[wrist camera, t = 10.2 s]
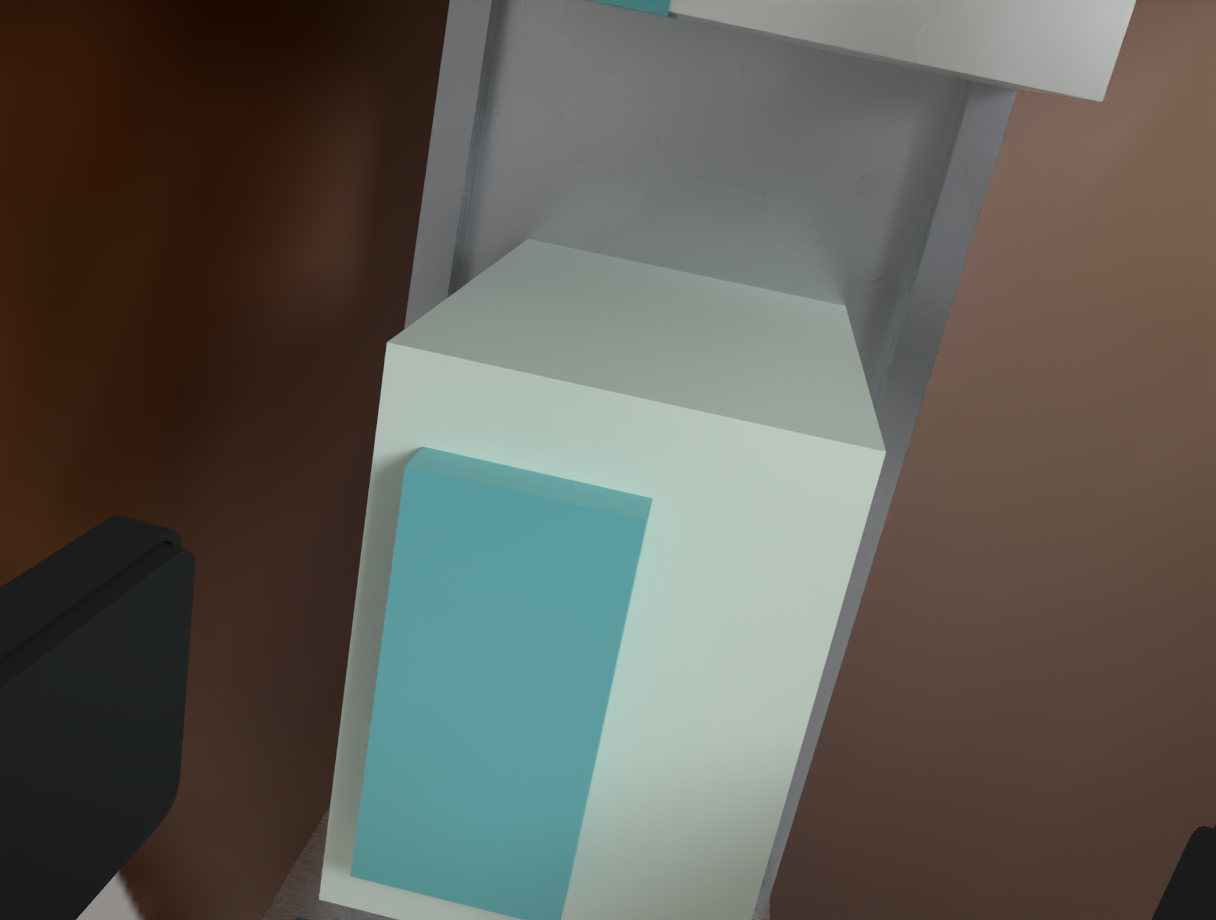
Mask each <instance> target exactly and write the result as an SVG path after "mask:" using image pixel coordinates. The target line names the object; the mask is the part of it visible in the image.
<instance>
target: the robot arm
mask: <svg viewBox="0 0 1216 920" xmlns="http://www.w3.org/2000/svg"><path fill="white" fill-rule="evenodd" d="M194 572H195V560H194V556H193V553H192V552H191V551H190V550H187V549H183V548H182V545H181V541H180V537H179V535H178V534H177V533H176V532H175V531H174V530H171V529H168V528H164V527H160V526H156V525H153V524H149V523H145V522H142V521H138V520H134V519H131V518H127V517H123V516H117V515H116V516H113V517H111V518H108V519H107V520H105V521H104V522H102V523H101V524H99V525H97V526H96V527H94V528H93V529H91V530H90V531H88V532H86V533H85V534H83V535H82V536H80V537H79V538H77V539H76V540H74V541H72V542H71V543H69V544H68V545H66V546H65V547H63V548H61V549H60V550H58V551H57V552H55V553H54V554H52V555H51V556H49V557H47V558H46V559H44V560H43V561H41V562H40V563H38V564H37V565H35V566H33V567H32V568H30V569H29V570H27V571H26V572H24V573H22V574H21V575H19V576H18V577H16V578H15V579H13V580H12V581H10V582H8V583H7V584H5V585H4V586H2V587H1V588H0V920H76V919H77V918H78V916H79V915H80V914H81V913H82V912H83V911H84V910H85V909H86V907H87V906H88V905H89V904H90V903H91V902H92V901H93V899H94V898H95V897H96V896H97V895H98V894H99V893H100V891H101V890H102V889H103V888H104V887H105V886H106V885H107V883H108V882H109V881H110V880H111V879H112V878H113V877H114V876H115V874H116V873H117V872H118V871H119V870H120V869H121V868H122V866H123V865H124V864H125V863H126V862H127V861H128V860H129V859H130V857H131V856H132V855H133V854H134V853H135V852H136V851H137V849H138V848H139V847H140V846H141V845H142V844H143V843H144V841H145V840H146V839H147V838H148V837H149V836H150V835H151V833H152V832H153V831H154V830H155V829H156V828H157V827H158V825H159V824H160V823H161V822H162V821H163V819H164V818H165V817H166V815H167V814H168V812H169V810H170V808H171V806H172V804H173V802H174V799H175V797H176V794H177V790H178V786H179V780H180V767H181V753H182V739H183V725H184V712H185V698H186V684H187V670H188V656H189V642H190V628H191V614H192V600H193V586H194ZM1152 920H1216V826H1215V828H1210V827H1207V826H1202V827H1199V828H1198V829H1197V830H1195V831H1194V832H1193V834H1192V836H1191V837H1190V839H1189V841H1188V843H1187V845H1186V847H1185V850H1184V852H1183V854H1182V856H1181V858H1180V860H1179V862H1178V864H1177V867H1176V869H1175V871H1174V873H1173V875H1172V877H1171V879H1170V882H1169V884H1168V886H1167V888H1166V890H1165V892H1164V894H1163V897H1162V899H1161V901H1160V903H1159V905H1158V907H1157V909H1156V912H1155V914H1154V916H1153V918H1152Z"/></svg>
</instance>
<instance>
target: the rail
mask: <svg viewBox="0 0 1216 920" xmlns="http://www.w3.org/2000/svg"><path fill="white" fill-rule="evenodd" d="M1135 2H1136V0H450V3H449V10H448V17H447V24H446V31H445V39H444V46H443V53H442V60H441V67H440V75H439V82H438V89H437V96H436V104H435V111H434V118H433V125H432V132H431V140H430V147H429V154H428V161H427V169H426V176H425V183H424V190H423V197H422V205H421V212H420V219H419V226H418V233H417V241H416V248H415V255H414V262H413V270H412V277H411V284H410V291H409V298H408V306H407V313H406V320H405V327H404V329H406V328H407V327H409V326H410V325H411V324H413V323H414V322H415V321H417V320H418V319H419V318H421V317H422V316H424V315H425V314H426V313H428V312H429V311H430V310H432V309H433V308H434V307H436V306H437V305H439V304H440V303H441V302H443V301H444V300H445V299H447V298H448V297H449V296H451V295H452V294H454V293H455V292H456V291H458V290H459V289H460V288H462V287H463V286H464V285H466V284H467V283H469V282H470V281H471V280H473V279H474V278H475V277H477V276H478V275H479V274H481V273H482V272H484V271H485V270H486V269H488V268H489V267H490V266H492V265H493V264H494V263H496V262H497V261H499V260H500V259H501V258H503V257H504V256H505V255H507V254H508V253H509V252H511V251H512V250H514V249H515V248H516V247H518V246H519V245H520V244H522V243H523V242H524V241H526V240H527V239H532V240H536V241H541V242H546V243H551V244H555V245H560V246H565V247H569V248H574V249H579V250H584V251H588V252H593V253H598V254H602V255H607V256H612V257H617V258H621V259H626V260H631V261H635V262H640V263H645V264H650V265H654V266H659V267H664V268H668V269H673V270H678V271H683V272H687V273H692V274H697V275H701V276H706V277H711V278H716V279H720V280H725V281H730V282H734V283H739V284H744V285H749V286H753V287H758V288H763V289H767V290H772V291H777V292H782V293H786V294H791V295H796V296H800V297H805V298H810V299H815V300H819V301H824V302H829V303H833V304H838V305H843V306H846V310H847V314H848V317H849V321H850V324H851V328H852V331H853V335H854V339H855V342H856V346H857V349H858V353H859V357H860V360H861V364H862V367H863V371H864V374H865V378H866V382H867V385H868V389H869V392H870V396H871V400H872V403H873V407H874V410H875V414H876V417H877V421H878V425H879V428H880V432H881V435H882V439H883V443H884V446H885V450H886V454H885V458H884V461H883V465H882V468H881V472H880V475H879V479H878V482H877V485H876V489H875V492H874V496H873V499H872V503H871V506H870V510H869V513H868V517H867V520H866V524H865V527H864V531H863V534H862V538H861V541H860V544H859V548H858V551H857V555H856V558H855V562H854V565H853V569H852V572H851V576H850V579H849V583H848V586H847V590H846V593H845V596H844V600H843V603H842V607H841V610H840V614H839V617H838V621H837V624H836V628H835V631H834V635H833V638H832V642H831V645H830V649H829V652H828V655H827V659H826V662H825V666H824V669H823V673H822V676H821V680H820V683H819V687H818V690H817V694H816V697H815V701H814V704H813V708H812V711H811V714H810V718H809V721H808V725H807V728H806V732H805V735H804V739H803V742H802V746H801V749H800V753H799V756H798V760H797V763H796V767H795V770H794V773H793V777H792V780H791V784H790V787H789V791H788V794H787V798H786V801H785V805H784V808H783V812H782V815H781V819H780V822H779V826H778V829H777V832H776V836H775V839H774V843H773V846H772V850H771V853H770V857H769V860H768V864H767V867H766V871H765V874H764V878H763V881H762V885H761V888H760V891H759V895H758V898H757V902H756V905H755V909H754V912H753V916H752V919H751V920H770V894H771V891H772V888H773V885H774V881H775V878H776V875H777V872H778V868H779V865H780V862H781V859H782V855H783V852H784V849H785V846H786V842H787V839H788V836H789V833H790V829H791V826H792V823H793V820H794V816H795V813H796V810H797V807H798V803H799V800H800V797H801V794H802V790H803V787H804V784H805V781H806V777H807V774H808V771H809V768H810V764H811V761H812V758H813V755H814V751H815V748H816V745H817V742H818V738H819V735H820V732H821V729H822V725H823V722H824V719H825V715H826V712H827V709H828V706H829V702H830V699H831V696H832V693H833V689H834V686H835V683H836V680H837V676H838V673H839V670H840V667H841V663H842V660H843V657H844V654H845V650H846V647H847V644H848V641H849V637H850V634H851V631H852V628H853V624H854V621H855V618H856V615H857V611H858V608H859V605H860V602H861V598H862V595H863V592H864V589H865V585H866V582H867V579H868V576H869V572H870V569H871V566H872V563H873V559H874V556H875V553H876V549H877V546H878V543H879V540H880V536H881V533H882V530H883V527H884V523H885V520H886V517H887V514H888V510H889V507H890V504H891V501H892V497H893V494H894V491H895V488H896V484H897V481H898V478H899V475H900V471H901V468H902V465H903V462H904V458H905V455H906V452H907V449H908V445H909V442H910V439H911V436H912V432H913V429H914V426H915V423H916V419H917V416H918V413H919V410H920V406H921V403H922V400H923V397H924V393H925V390H926V387H927V384H928V380H929V377H930V374H931V370H932V367H933V364H934V361H935V357H936V354H937V351H938V348H939V344H940V341H941V338H942V335H943V331H944V328H945V325H946V322H947V318H948V315H949V312H950V309H951V305H952V302H953V299H954V296H955V292H956V289H957V286H958V283H959V279H960V276H961V273H962V270H963V266H964V263H965V260H966V257H967V253H968V250H969V247H970V244H971V240H972V237H973V234H974V231H975V227H976V224H977V221H978V218H979V214H980V211H981V208H982V205H983V201H984V198H985V195H986V191H987V188H988V185H989V182H990V178H991V175H992V172H993V169H994V165H995V162H996V159H997V156H998V152H999V149H1000V146H1001V143H1002V139H1003V136H1004V133H1005V130H1006V126H1007V123H1008V120H1009V117H1010V113H1011V110H1012V107H1013V104H1014V100H1015V97H1016V94H1017V91H1026V92H1033V93H1040V94H1047V95H1055V96H1062V97H1069V98H1076V99H1084V100H1091V101H1098V102H1103V99H1104V96H1105V93H1106V90H1107V87H1108V84H1109V81H1110V78H1111V75H1112V72H1113V69H1114V65H1115V62H1116V59H1117V56H1118V53H1119V50H1120V47H1121V44H1122V41H1123V38H1124V35H1125V32H1126V29H1127V26H1128V23H1129V20H1130V17H1131V14H1132V11H1133V8H1134V5H1135ZM329 812H330V806H329V807H328V809H327V811H326V812H325V814H324V816H323V817H322V819H321V821H320V822H319V824H318V826H317V827H316V829H315V831H314V833H313V834H312V836H311V838H310V839H309V841H308V843H307V844H306V846H305V848H304V849H303V851H302V853H301V854H300V856H299V858H298V859H297V861H296V863H295V864H294V866H293V868H292V869H291V871H290V873H289V874H288V876H287V878H286V879H285V881H284V883H283V884H282V886H281V888H280V890H279V891H278V893H277V895H276V896H275V898H274V900H273V901H272V903H271V905H270V906H269V908H268V910H267V911H266V913H265V915H264V916H263V918H262V920H398V919H394V918H390V917H386V916H382V915H378V914H374V913H370V912H366V911H362V910H358V909H354V908H350V907H346V906H342V905H338V904H335V903H331V902H327V901H323V900H319V894H320V886H321V878H322V869H323V861H324V853H325V845H326V837H327V829H328V820H329Z"/></svg>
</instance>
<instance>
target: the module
mask: <svg viewBox="0 0 1216 920" xmlns="http://www.w3.org/2000/svg"><path fill="white" fill-rule="evenodd" d="M885 454H886V450H885V446H884V443H883V439H882V435H881V432H880V428H879V425H878V421H877V417H876V414H875V410H874V407H873V403H872V400H871V396H870V392H869V389H868V385H867V382H866V378H865V374H864V371H863V367H862V364H861V360H860V357H859V353H858V349H857V346H856V342H855V339H854V335H853V331H852V328H851V324H850V321H849V317H848V314H847V310H846V306H843V305H838V304H833V303H829V302H824V301H819V300H815V299H810V298H805V297H800V296H796V295H791V294H786V293H782V292H777V291H772V290H767V289H763V288H758V287H753V286H749V285H744V284H739V283H734V282H730V281H725V280H720V279H716V278H711V277H706V276H701V275H697V274H692V273H687V272H683V271H678V270H673V269H668V268H664V267H659V266H654V265H650V264H645V263H640V262H635V261H631V260H626V259H621V258H617V257H612V256H607V255H602V254H598V253H593V252H588V251H584V250H579V249H574V248H569V247H565V246H560V245H555V244H551V243H546V242H541V241H536V240H532V239H527V240H526V241H524V242H523V243H522V244H520V245H519V246H518V247H516V248H515V249H514V250H512V251H511V252H509V253H508V254H507V255H505V256H504V257H503V258H501V259H500V260H499V261H497V262H496V263H494V264H493V265H492V266H490V267H489V268H488V269H486V270H485V271H484V272H482V273H481V274H479V275H478V276H477V277H475V278H474V279H473V280H471V281H470V282H469V283H467V284H466V285H464V286H463V287H462V288H460V289H459V290H458V291H456V292H455V293H454V294H452V295H451V296H449V297H448V298H447V299H445V300H444V301H443V302H441V303H440V304H439V305H437V306H436V307H434V308H433V309H432V310H430V311H429V312H428V313H426V314H425V315H424V316H422V317H421V318H419V319H418V320H417V321H415V322H414V323H413V324H411V325H410V326H409V327H407V328H406V329H404V330H403V331H402V332H400V333H399V334H398V335H396V336H395V337H394V338H392V339H391V340H389V341H388V342H387V347H386V355H385V363H384V371H383V379H382V387H381V396H380V404H379V412H378V420H377V428H376V437H375V445H374V453H373V461H372V469H371V477H370V486H369V494H368V502H367V510H366V518H365V526H364V535H363V543H362V551H361V559H360V567H359V575H358V584H357V592H356V600H355V608H354V616H353V624H352V633H351V641H350V649H349V657H348V665H347V673H346V682H345V690H344V698H343V706H342V714H341V722H340V731H339V739H338V747H337V755H336V763H335V771H334V780H333V788H332V796H331V804H330V812H329V820H328V829H327V837H326V845H325V853H324V861H323V869H322V878H321V886H320V894H319V900H323V901H327V902H331V903H335V904H338V905H342V906H346V907H350V908H354V909H358V910H362V911H366V912H370V913H374V914H378V915H382V916H386V917H390V918H394V919H398V920H751V919H752V916H753V912H754V909H755V905H756V902H757V898H758V895H759V891H760V888H761V885H762V881H763V878H764V874H765V871H766V867H767V864H768V860H769V857H770V853H771V850H772V846H773V843H774V839H775V836H776V832H777V829H778V826H779V822H780V819H781V815H782V812H783V808H784V805H785V801H786V798H787V794H788V791H789V787H790V784H791V780H792V777H793V773H794V770H795V767H796V763H797V760H798V756H799V753H800V749H801V746H802V742H803V739H804V735H805V732H806V728H807V725H808V721H809V718H810V714H811V711H812V708H813V704H814V701H815V697H816V694H817V690H818V687H819V683H820V680H821V676H822V673H823V669H824V666H825V662H826V659H827V655H828V652H829V649H830V645H831V642H832V638H833V635H834V631H835V628H836V624H837V621H838V617H839V614H840V610H841V607H842V603H843V600H844V596H845V593H846V590H847V586H848V583H849V579H850V576H851V572H852V569H853V565H854V562H855V558H856V555H857V551H858V548H859V544H860V541H861V538H862V534H863V531H864V527H865V524H866V520H867V517H868V513H869V510H870V506H871V503H872V499H873V496H874V492H875V489H876V485H877V482H878V479H879V475H880V472H881V468H882V465H883V461H884V458H885Z"/></svg>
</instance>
